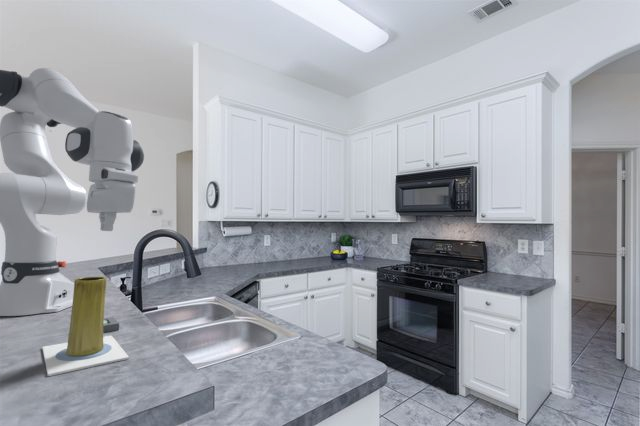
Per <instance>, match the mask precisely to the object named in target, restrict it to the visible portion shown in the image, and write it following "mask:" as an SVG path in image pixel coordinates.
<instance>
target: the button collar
mask: <svg viewBox="0 0 640 426" xmlns="http://www.w3.org/2000/svg"><path fill="white" fill-rule="evenodd" d="M104 320H106V321H107V324H103V333H107V332H115V331H119V330H120V322H119V321H117V319H115V318H114V317H113V316H112V317H104Z"/></svg>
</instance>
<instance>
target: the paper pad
mask: <svg viewBox="0 0 640 426" xmlns="http://www.w3.org/2000/svg"><path fill="white" fill-rule="evenodd" d="M67 345H68V342H63V343H58V344H51V345H45V346H42V349H41V350H42V354H43V360H44V364H45V370H46V375H47V377H52V376H56V375H60V374H66V373H70V372H75V371H79V370H86V369H88V368H89V369H90V368H93V367H94V368H95V367H97V366H99V367H100V366H103V365H107V364H112V363H113V364H114V363H116V362H121V361H126V360H129V359H130V356H129V355H128V353H126V351H125V350H124V349H123V348H122V347H121V345H120V344H119V342H118V341H117V340H116V339H115V338H114V337H113V335H105V336H104V335H103V345H104V348H103V349H102V350H101V351H99V352H97V353H94V354H91V355H85V356H69V355H67V354H66V350H67Z"/></svg>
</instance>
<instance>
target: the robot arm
mask: <svg viewBox="0 0 640 426" xmlns="http://www.w3.org/2000/svg"><path fill="white" fill-rule="evenodd" d="M0 107H4V108H7V109H9V110H12V112H8V113H6V114H4V115H3V116H2V117H1V119H0V147H1V151H2V157H3V162H4V164H5V166H6V167H7V169H8V170H10V171H11V172H12V173H11V172H6V173H5V172H0V225H1V227H2V230H3V232H4V238H5V241H4V242H5V251H4V253H5V254H4V261H3V262H2V264H1V270H0V275H1V278H2V279H1V281H0V317H16V316H29V315H38V314H46V313H57V312H60V311H62V310H65V309H68V308H72V304H73V294H74V282H73V281H71V280H70V279H69V278H67V277H66V276H65V275H63V274H62V273H61V272H60V268H62V269H63V268H64V269H65V268H66V267H67V265H68V263H67V261H65V260H63V261H61V260H59V261H57V260H56V257H57V256H56V255H57V245H58V239H57V238H58V237H57V235H56V234H55V232H54V231H53V230H52V229H50V228H49V227H48V228H47V227H45V226H43V225H41V224H40V223H39V222H38V220H37V217H36V216H37V215H49V216H50V215H52V216H53V215H54V216H67V215H74V214H79V213H80V212H82V211H83V210H84V208H85V207H86V211H87V213H91V214H92V213H93V214H99V215H98V219H99V223H100V231H103V232H112V231H113V230H114V224H115V223H116V222H115V221H116V219H117V214H118V213H119V214H121V213H122V214H124V213H125V214H126V213H127V214H128V213H131V212H132V210H133V208H134V205H135V204H134V203H135V198H136V183H138V181H139V175H138V174H137V173H136V172H135V171H136V170H138V169H139V168H140V167H141V166H142V164H143V163H144V159H145V154H144V150H143V148H142V146H141V145H140V143H139V142H138V141H137V140H135V139H134V129H133V124H132V121H131V120H130V119H129V118H128V117H126V116H124V115H121V114H118V113H114V112H111V111H107V110H106V111H105V110H104V111H102V110H101V111H100V110H99V109H98V108H97V107H96V106H94V105H93V104H92V103H91V102H90V101H88V99H87V98H86V97H84V95H82V93H81V92H80V91H79V90H78V89H77V88H76V86H75V85H74V84H73V83H72V82H71V81H70V80H69V79H68V78H67V77H66V76H64V75H63V74H62V73H61V72H59V71H57V70H55V69H52V68H48V67H40V68H37V69H34V70H33V71H32V72H31V73H30V74H29V76H24V75H22V74H19V73H18V72H17V71H11V70H10V71H9V70H4V69H0ZM58 125H66V126H69V127H71V128H74V129H72V130H71V131H69V132H67V134H66V138H65V146H64V147H65V152H66V153H67V156H68V157H69V158H70V159H71V160H72V161H73V162H76V163H78V164H82V165H86V166H89V171H88V173H89V174H88V181H89V182H91V183H92V184H91V185H90V186H89V189H88V193H87V191H86V189H85V188H84V187H83V185H81V184H79V183H77V182H75V181H74V180H73V179H72V178H69V176H67V175H66V174H65V173H64V172H63V171H62V170H61V169H60V168H59V167H58V166H57V164H56V163H55V161H54V159H53V155H52V153H51V150H50V147H49V146H50V145H49V142H48V138H47V135H46V132H45V130H46V126H48V127H49V128H55V127H57V126H58Z"/></svg>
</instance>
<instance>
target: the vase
mask: <svg viewBox="0 0 640 426" xmlns="http://www.w3.org/2000/svg"><path fill="white" fill-rule="evenodd" d="M73 283H74V294H73V304H72V306H71V312H70V323H69V333H68V338H67V343H68V345H67V350H66V354H67V355H69V356H85V355H91V354H94V353H97V352H99V351H101V350H102V349H103V348H104V345H103V337H104V332H103V324H104V318H105V316H104V315H105V303H106V290H107V277H104V276H85V277H84V276H83V277H78V278H75V279H74V282H73Z"/></svg>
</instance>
